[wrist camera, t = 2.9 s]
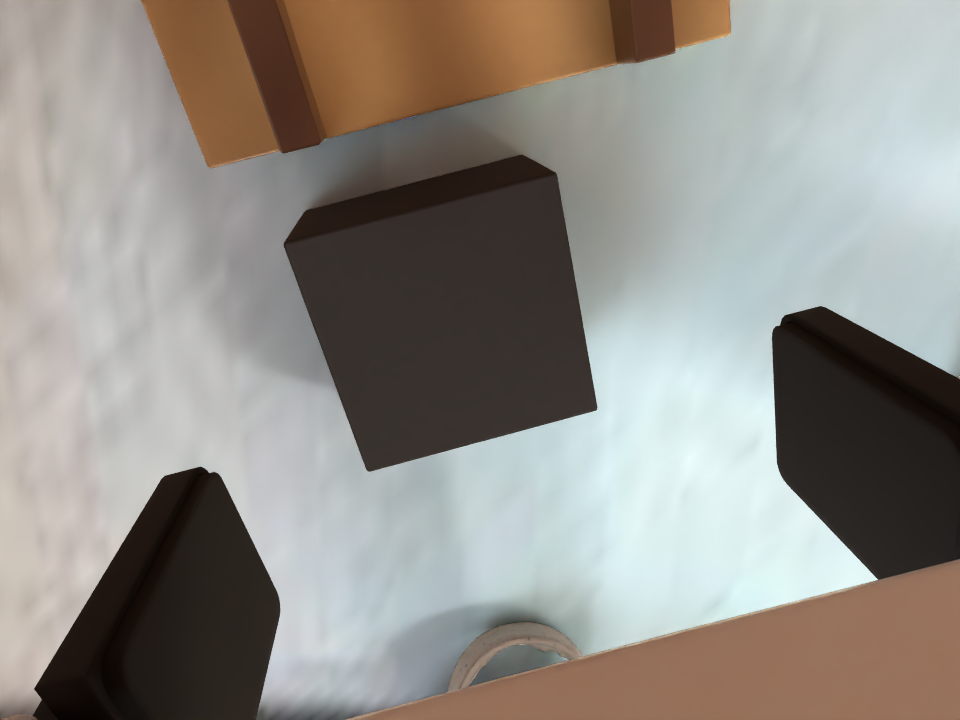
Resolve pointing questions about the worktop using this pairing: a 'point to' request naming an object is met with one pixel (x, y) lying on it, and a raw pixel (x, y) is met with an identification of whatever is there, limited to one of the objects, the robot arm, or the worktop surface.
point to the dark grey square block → (446, 309)
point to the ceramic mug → (506, 637)
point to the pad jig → (391, 58)
